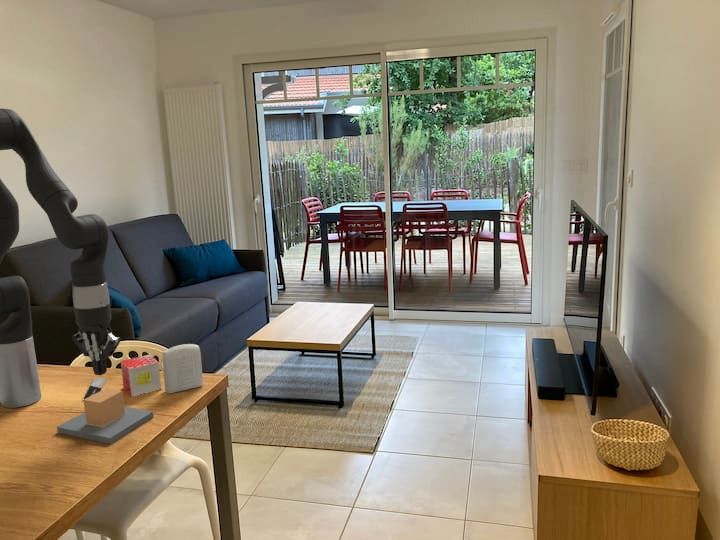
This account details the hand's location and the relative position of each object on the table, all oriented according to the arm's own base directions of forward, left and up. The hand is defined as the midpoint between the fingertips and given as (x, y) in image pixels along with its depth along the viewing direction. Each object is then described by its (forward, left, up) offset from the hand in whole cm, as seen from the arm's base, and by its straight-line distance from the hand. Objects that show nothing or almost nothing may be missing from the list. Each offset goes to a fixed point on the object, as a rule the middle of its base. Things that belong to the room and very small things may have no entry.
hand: (100, 373), depth 138 cm
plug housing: (0, 0, -11) cm, 11 cm away
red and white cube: (-7, +20, -13) cm, 25 cm away
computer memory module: (-19, +15, -14) cm, 28 cm away
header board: (0, 0, -13) cm, 13 cm away
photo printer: (+4, +24, -13) cm, 28 cm away
